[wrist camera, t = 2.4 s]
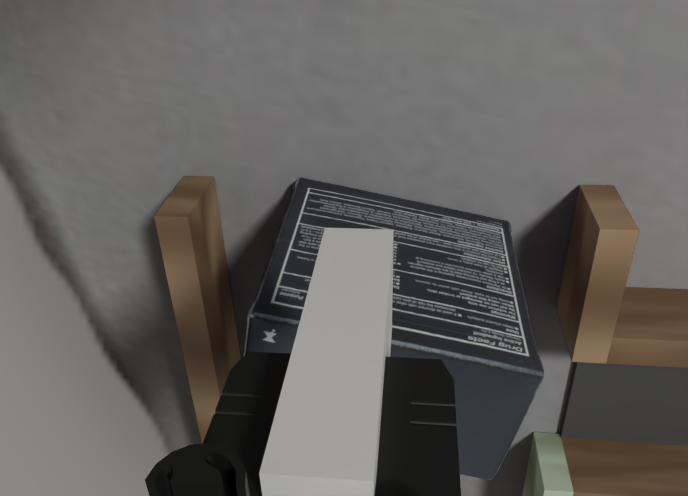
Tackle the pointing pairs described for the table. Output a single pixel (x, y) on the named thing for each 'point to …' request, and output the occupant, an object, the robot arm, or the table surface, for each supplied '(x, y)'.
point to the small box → (421, 304)
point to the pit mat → (627, 404)
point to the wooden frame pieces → (573, 310)
